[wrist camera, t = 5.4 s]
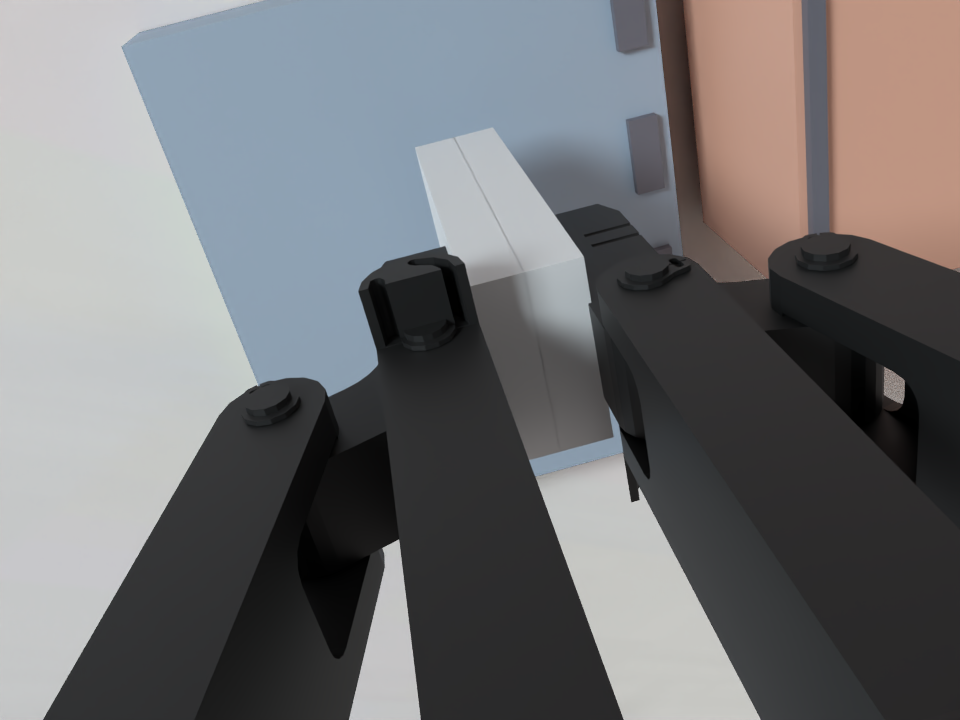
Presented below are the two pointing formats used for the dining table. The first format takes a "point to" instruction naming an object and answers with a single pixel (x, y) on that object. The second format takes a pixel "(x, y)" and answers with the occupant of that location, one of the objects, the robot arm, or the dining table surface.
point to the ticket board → (391, 146)
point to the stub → (828, 122)
